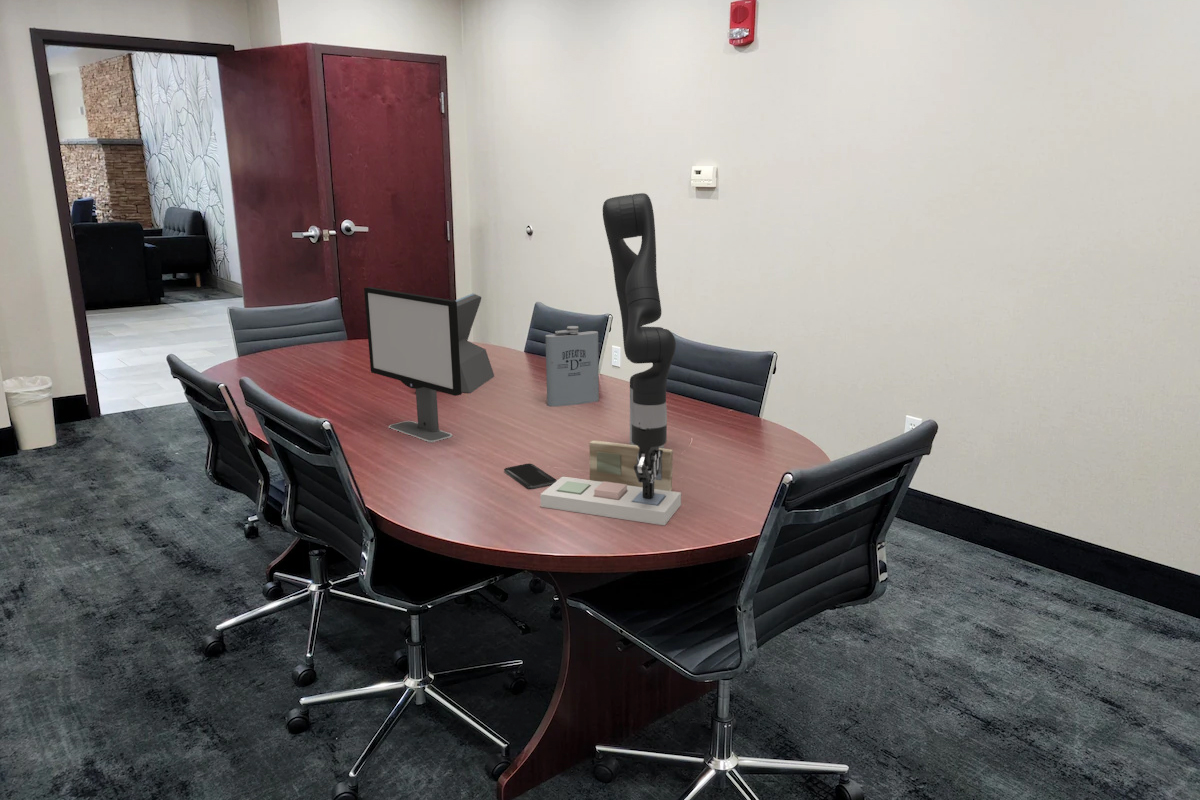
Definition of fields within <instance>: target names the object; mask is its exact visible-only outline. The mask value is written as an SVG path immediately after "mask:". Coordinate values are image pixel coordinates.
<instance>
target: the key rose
mask: <svg viewBox="0 0 1200 800" xmlns="http://www.w3.org/2000/svg"><path fill="white" fill-rule="evenodd" d="M626 492H627V484H620V483H613V482H605V481H603V482H602V483H601V484H600V485H599V486H598V487H597V488H596V489H595V490H594V497H600V498H607V499H614V500H620V499H621V498H622V497H623V496H624V495H625V494H626Z"/></svg>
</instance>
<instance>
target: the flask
mask: <svg viewBox="0 0 1200 800" xmlns="http://www.w3.org/2000/svg"><path fill="white" fill-rule="evenodd" d="M545 366H546V367H545V369H546V371H545V372H546V375H545V376H546V378H545V379H546V406H548V407H564V406H565V407H566V406H574V405H583V404H589V403H591V404H592V403H595V402H599V400H600V396H599V393H600V391H599V390H600V389H599V388H600V387H599V385H600V382H599V380H600V379H599V332H598V331H595V330H590V331H582V332H579V326H578V325H568V326H566V329H563V330H555V332H554V333H553V334H546V335H545Z"/></svg>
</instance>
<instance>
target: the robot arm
mask: <svg viewBox="0 0 1200 800" xmlns="http://www.w3.org/2000/svg"><path fill="white" fill-rule="evenodd" d="M654 213H655V212H654V208H653V204H652V199H651V198H650V196H649V194H647V193H645V192H641V193H633V194H628V195H627V194H626V195H620V196H615V197H610V198H607V199H606V200H605V201H604V202H603V204H602V220H603V224H604V230H605V234H606V238H607V242H608V246H609V247H608V248H609V251H610V255H611V260H612V268H613V276H614V283H615V284H614V285H615V291H616V296H617V300H618V304H619V312H620V317H621V324H622V325H621V327H622V337H623V349H624V354H625V358H627V360H628V361H629V362H631V363H633V364H639V365H640V364H652V366H651V367H650V368H648V369H647V370H644V371H641V372H637V373H634V374H633V375H631V377H630V379H629V445H637V446H638V447H639V452H638V455H637V459H638V461H639V464H638V465H636V464H635V465H634V470H635V473H636V476H637V478H638V481H639V482H643V498H645V499H652V498H653V497H654V481H655V480H656V475H658V473H659V468H660V463H661V459H662V454H663V450H659V448H663V449H665V445H666V443H667V441H668V440H667V431H668V429H667V428H668V423H667V422H668V408H667V382H668V376H669V373H670V369H671V365H672V362H673V359H674V356H675V352H676V346H677V345H676V344H677V343H676V338H675V336H674V334H673V332H672V331H671V330H669V329H667V328H664V327H662V326H647V325H650V324H652V323H655V322H657V321H658V320H660V319H661V316H662V305H661V304H662V303H661V297H660V292H659V285H658V284H659V283H658V275H657V244H656V243H657V241H656V226H655V222H656V221H655V215H654ZM638 237H641V244H640V248H639V251H638V253H637V254H636V253H635V252H634V250H633V249H631V248H630V246H628V245H627V243H626V242H625V239H632V238H638Z"/></svg>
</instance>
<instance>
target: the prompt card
mask: <svg viewBox="0 0 1200 800" xmlns="http://www.w3.org/2000/svg"><path fill="white" fill-rule="evenodd" d="M588 447H589V480H592V481H600V482H603V481H605V482H613V483H620V484H627V485H629V486H636V487H643V482H639V481H638V478H637V476H636V473H635V470H634V465H635V464H636V465H638V464H639V461H638V459H637V455H638V452H639V447H638V446H637V445H630V444H629V443H628V444H626V443H619V442H611V441H610V442H609V441H602V440H591V441H589V446H588ZM659 450H663V454H662V459H661V463H660V468H659V473H658V475H656V480H655V481H654V489H659V490H666V491H673V460H674V459H673V451H674V450H673V449H669V448H664V449H663V448H659Z"/></svg>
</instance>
